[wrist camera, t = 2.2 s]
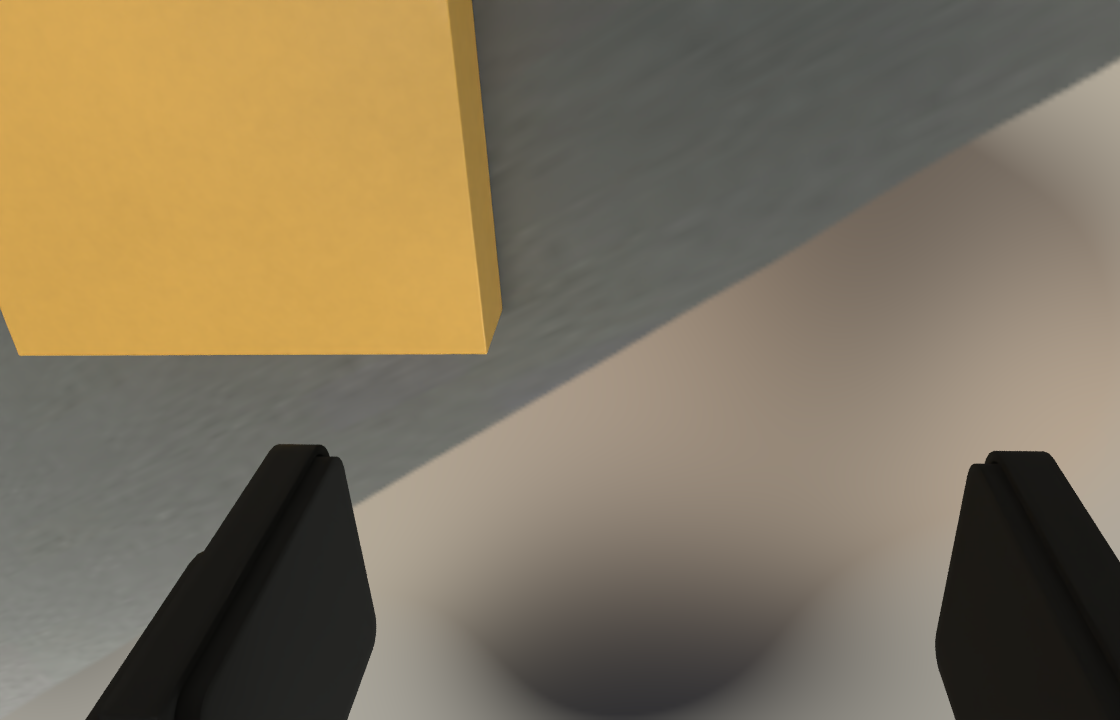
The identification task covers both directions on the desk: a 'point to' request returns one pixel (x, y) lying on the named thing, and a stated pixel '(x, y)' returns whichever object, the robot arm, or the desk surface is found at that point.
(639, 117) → the desk surface
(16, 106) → the orange flat block
